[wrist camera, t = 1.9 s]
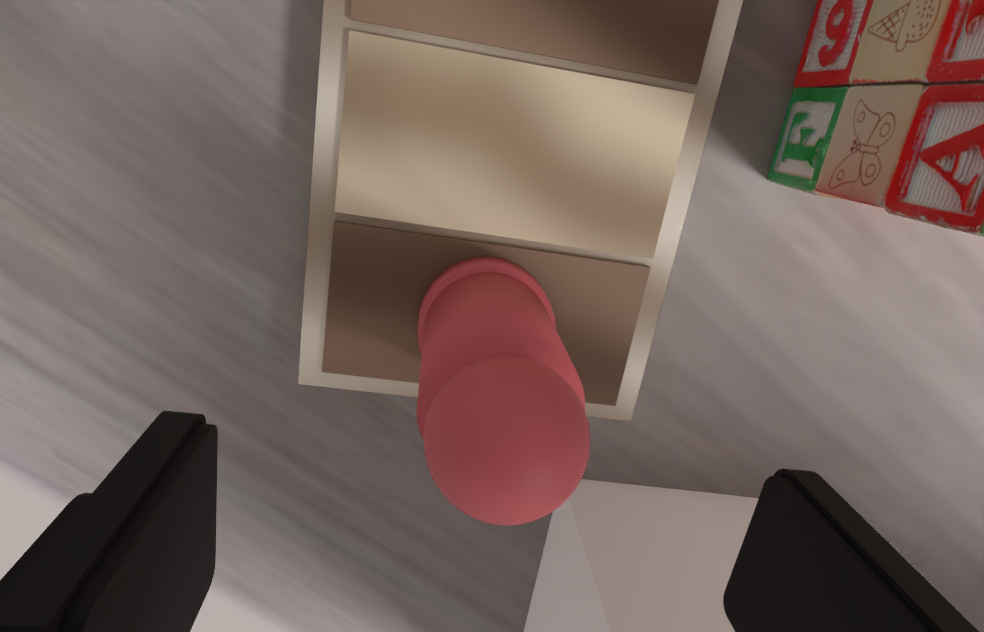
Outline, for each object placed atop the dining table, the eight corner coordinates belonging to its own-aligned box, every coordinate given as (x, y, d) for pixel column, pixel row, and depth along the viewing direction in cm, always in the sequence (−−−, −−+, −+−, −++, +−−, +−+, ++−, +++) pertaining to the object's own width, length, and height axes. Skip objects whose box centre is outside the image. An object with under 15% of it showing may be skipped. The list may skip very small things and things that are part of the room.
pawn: (536, 386, 21) (601, 588, 12) (411, 371, 21) (386, 571, 12) (561, 266, 20) (654, 396, 11) (428, 247, 19) (414, 368, 10)
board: (621, 406, 23) (632, 423, 22) (305, 369, 22) (296, 386, 21) (820, -359, 16) (853, -400, 15) (366, -491, 15) (358, -549, 13)
